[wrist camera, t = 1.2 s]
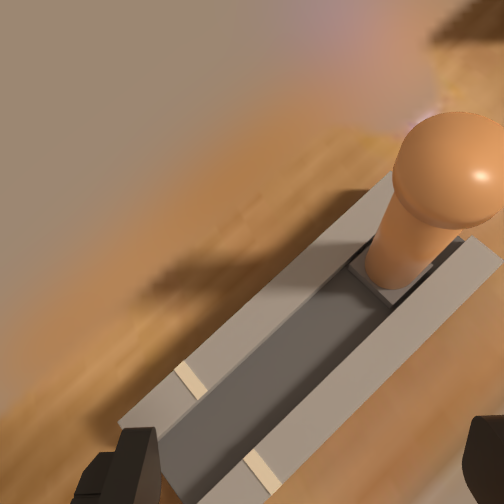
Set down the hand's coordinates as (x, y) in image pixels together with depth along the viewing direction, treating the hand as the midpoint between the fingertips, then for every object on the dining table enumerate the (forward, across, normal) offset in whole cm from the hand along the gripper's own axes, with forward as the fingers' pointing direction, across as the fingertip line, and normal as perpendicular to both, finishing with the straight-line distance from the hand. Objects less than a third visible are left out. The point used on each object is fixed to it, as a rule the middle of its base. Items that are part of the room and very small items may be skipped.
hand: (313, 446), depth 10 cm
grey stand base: (+15, -3, +8) cm, 17 cm away
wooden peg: (+16, -8, +2) cm, 18 cm away
